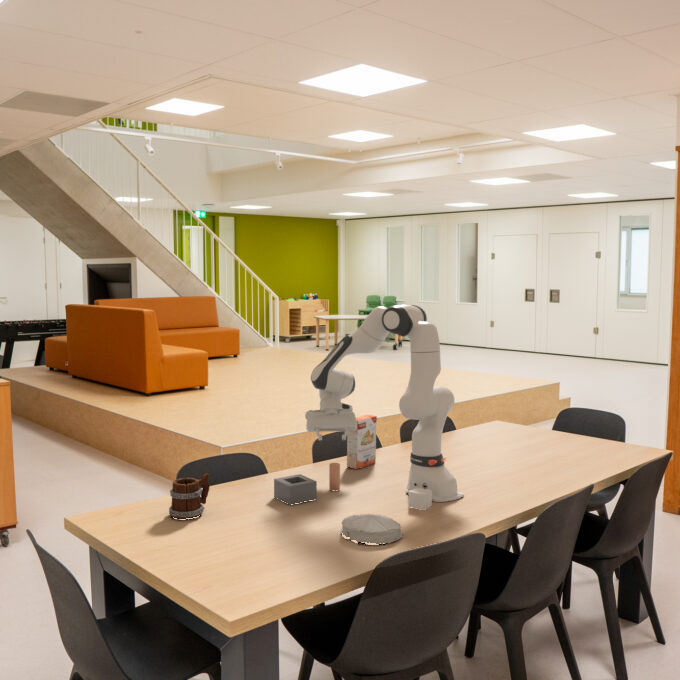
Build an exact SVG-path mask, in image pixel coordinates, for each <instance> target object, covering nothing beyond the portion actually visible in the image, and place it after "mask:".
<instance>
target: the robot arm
mask: <svg viewBox="0 0 680 680" xmlns="http://www.w3.org/2000/svg"><path fill="white" fill-rule="evenodd" d="M390 333H391V334H394V335H397V336H400V337H407V339H408V340H409V344H410V375H409V376H410V377H409V380H408V383H407V387H406V390H405V392H404V393H403V395H402V396H401V397H400V399H399V401H398V402H399V403H398V407H399V411H400V413H401V415H402V416H403V417H404V418H406V419H409V420H419V421H418V423H417V425H416V426H415V428H414V429H413V431H412V432H411V433H412V434H411V452H410V456H409V457H410V458H409V459H410V460H409V461H410V463H411V465H410V467H409V473H408V481H407V487H406V490H405V494H407V493H408V494H407V495H409V491H411V490H413V489H415V488H417V487H418V488H423V489H428V490H432V502H435V503H444V502H445V503H446V502H452V501H456V500H460V499H462V498H463V497H464V495H465V494H464V492H462V491H460V490H458V482H457V479H456V478H455V475H453V474H452V473H451V472H450V470H449V469H448V468H447V467H446V465H445V462H446V461H447V458H446V457H444V455H443V453H442V440H443V439H442V436H443V430H444V426H445V423H446V420H447V417H448V415H449V413H450V411H451V410H452V409H453V407H454V405H455V396H454V393H453V392H452V390H451V389H449V388H448V387H443V386H438V385H437V386H435V382H436V380H437V378H438V377H439V375H440V373H441V372H442V371H441V370H442V367H441V366H442V365H441V362H442V361H441V346H440V339H439V338H440V337H439V332H438V328H437V326H436V325H435V324H434V323H432V322H430V321H428V317H427V314H426V311H425V310H424V309H423V308H422V307H421V306H418V305H415V304H414V305H413V304H411V305H409V304H396V305H391V306H389V307H387V306H383V305H378V306H376V307H374V308H373V309H372V310H371V311H370V313H369V314H368V315H367V316H366V317H365V319H364V320H363V321H362V323H361V325H360V326H359V327H358V328H357V330H355V331H354V332H352V333H350V334H348V335H345V336H343V337H342V339H341V340H340V341H338V343H337V344H336V345H335V346H334V348H332V350H331V351H330V352H329V353H328V354H327V355H326V356H325V358H324V359H323V360H322V361H321V362H320V363H319V364H317V366H315V368H314V369H312V372H311V375H310V381H311V384H312V385H313V387H314V388H315V389H317V390H319V393H318V395H319V399H320V402H319V409H314V410H313V409H310V410H307V411H306V412H305V415H304V416H305V419H306V431H307V432H313V433H314V432H315V433H314V434H315V435H316V437H317V439H318V441H323V434H320V432H343V433H344V434H343V433H342V435H341V440H342V441H347V434H348V431H355V430H356V429H357V421H356V417H357V416H356V415H355V412H354V411H353V409H354V407H353V406H352V405H351V404H347V403H344V402H342V399H345V398H347V397H348V396H350V395H351V394H353V393H354V391H355V388H356V379H355V376H354V375H353V374H352V373H350V372H347V371H344V370H341V369H338V368H336V367H337V366H338V364H339V363H341V361H342V360H344V359H343V358H345V357H346V356H349V355H354V354H371V353H374V352H376V351H378V350H379V349H380V348H381V347H382V346H383V344H384V342H385V340H386V339H387V338H388V337H389V334H390ZM461 497H462V498H461Z"/></svg>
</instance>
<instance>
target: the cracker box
mask: <svg viewBox="0 0 680 680" xmlns="http://www.w3.org/2000/svg"><path fill="white" fill-rule="evenodd" d="M355 417H356V421H357V429H356V430H355V431H348V434H347V436H346V441H347V442H346V445H347V446H346V448H347V449H346V450H347V451H346V468H348V467H350V469H353V468H354V470H359V469H358V468H360V469H361V467H363V468H365V467H368V466H371V465H374V464H376V458H377V456H376V455H377V453H376V451H377V424H378V423H377V419H378V418H377V416H376V415H373V414H372V415H371V414H364V415H360V416H355ZM373 463H374V464H373ZM370 464H371V465H370ZM367 465H368V466H367ZM364 466H365V467H364Z"/></svg>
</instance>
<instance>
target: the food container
mask: <svg viewBox="0 0 680 680" xmlns="http://www.w3.org/2000/svg"><path fill="white" fill-rule="evenodd" d="M341 525H342V526H341V527H342V528H341V530H342V531H341V530H340V533H341V532H342V533H343V535H345V536H346V537H350V539H351V540H356V541H357V542H364V543H365V542H367V543H369V542H370V543H376V544H380V543H381V544H382V545H383V543H388V544H391V543H394V542H396V541H398V540H400V539H401V538H402V537H403V532H402V531H401V529H402V525H401V524H400V523H399V522H398V521H396V520H394V519H393V518H391V517H390V516H386V515H381V514H374V513H362V514H361V513H360V514H352V515H349V516H347V517H345V518H344V519H342V521H341Z"/></svg>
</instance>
